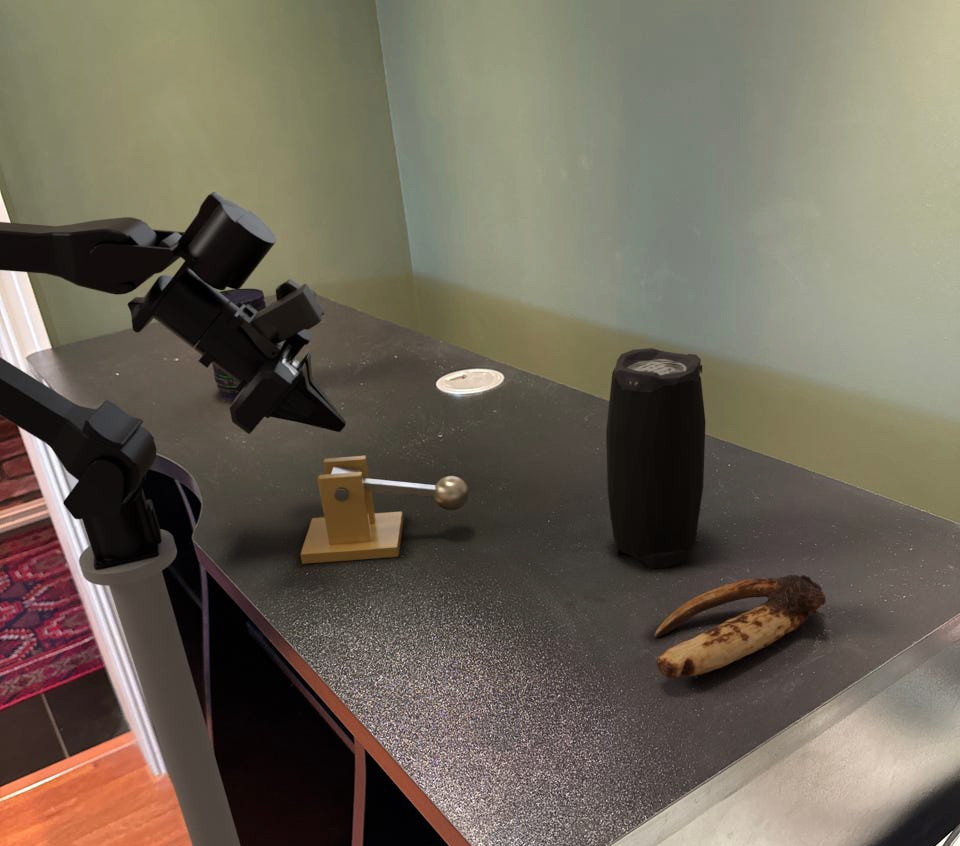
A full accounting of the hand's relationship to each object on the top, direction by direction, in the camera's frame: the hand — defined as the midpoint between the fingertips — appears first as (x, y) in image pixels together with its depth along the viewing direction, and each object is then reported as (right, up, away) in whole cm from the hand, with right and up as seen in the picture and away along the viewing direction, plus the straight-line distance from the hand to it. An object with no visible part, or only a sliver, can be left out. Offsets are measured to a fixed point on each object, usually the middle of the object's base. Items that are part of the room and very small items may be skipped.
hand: (343, 427), depth 91 cm
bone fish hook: (+35, -20, -14) cm, 42 cm away
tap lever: (+5, -8, +4) cm, 10 cm away
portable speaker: (+31, -12, 0) cm, 33 cm away
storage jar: (-22, +11, +52) cm, 58 cm away
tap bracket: (0, -12, +6) cm, 13 cm away
